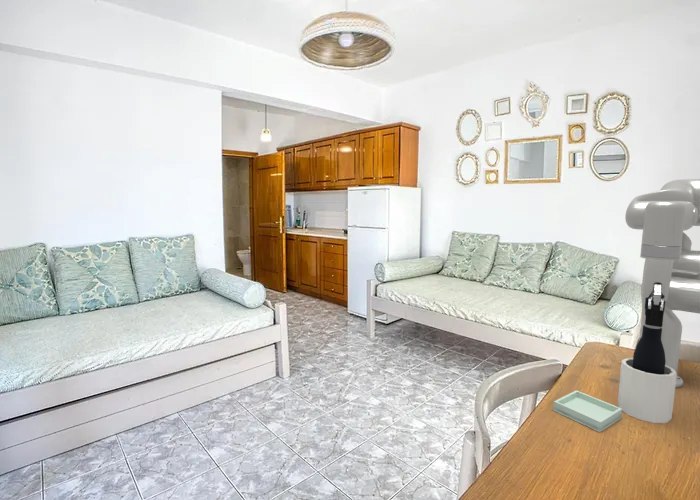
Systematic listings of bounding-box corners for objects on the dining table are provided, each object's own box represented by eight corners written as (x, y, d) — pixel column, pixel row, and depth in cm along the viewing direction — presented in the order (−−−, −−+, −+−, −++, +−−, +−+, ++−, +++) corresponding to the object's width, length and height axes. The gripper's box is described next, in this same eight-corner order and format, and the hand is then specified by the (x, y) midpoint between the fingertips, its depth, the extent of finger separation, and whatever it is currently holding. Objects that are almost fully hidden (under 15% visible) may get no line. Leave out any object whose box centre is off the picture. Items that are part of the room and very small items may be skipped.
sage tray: (575, 398, 103) (576, 390, 102) (621, 418, 94) (622, 408, 93) (553, 410, 97) (553, 401, 97) (599, 432, 88) (600, 422, 87)
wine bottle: (665, 419, 93) (679, 301, 89) (636, 416, 94) (648, 299, 91) (650, 406, 99) (662, 294, 96) (623, 403, 101) (634, 293, 97)
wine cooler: (628, 396, 104) (633, 355, 103) (677, 414, 95) (682, 369, 94) (610, 407, 98) (614, 363, 97) (660, 427, 90) (665, 379, 88)
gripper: (640, 248, 101) (634, 310, 103) (640, 254, 87) (633, 326, 89) (677, 250, 96) (670, 315, 98) (683, 257, 83) (675, 333, 85)
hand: (652, 320), depth 94 cm, fingers open, 9 cm apart
